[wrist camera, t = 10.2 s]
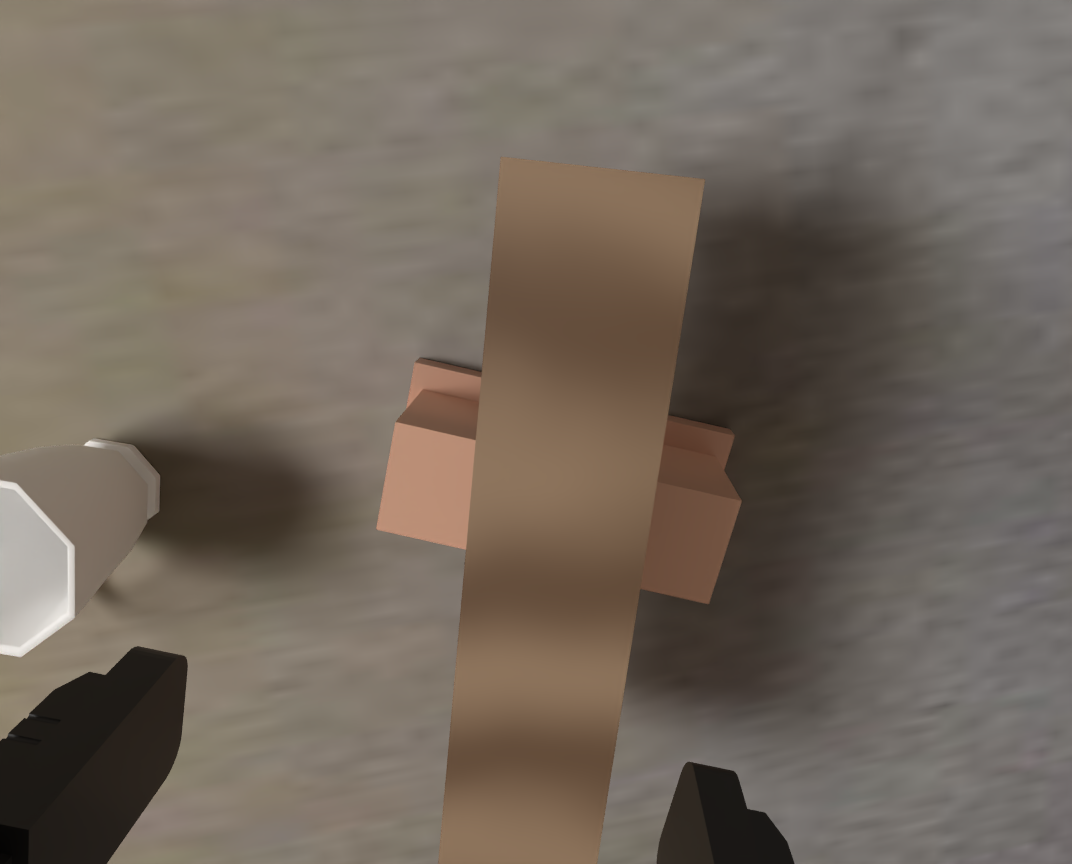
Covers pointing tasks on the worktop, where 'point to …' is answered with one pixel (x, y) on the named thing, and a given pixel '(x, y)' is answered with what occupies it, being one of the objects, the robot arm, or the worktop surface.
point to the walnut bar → (561, 500)
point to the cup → (66, 531)
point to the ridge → (447, 469)
